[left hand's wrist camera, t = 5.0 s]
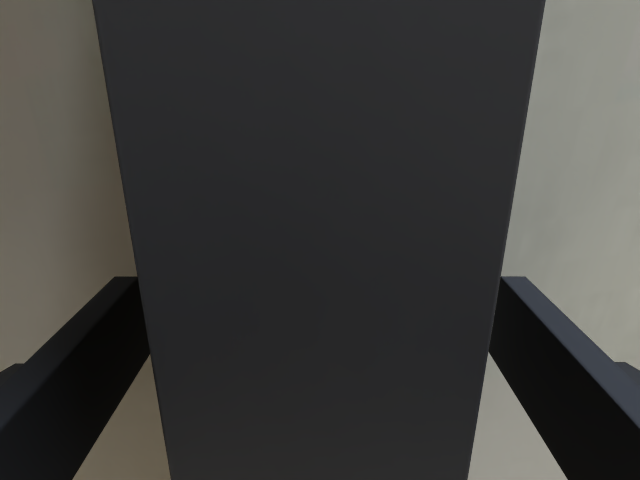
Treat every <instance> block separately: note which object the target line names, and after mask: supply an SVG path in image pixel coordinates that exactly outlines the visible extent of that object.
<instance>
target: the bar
mask: <svg viewBox="0 0 640 480" xmlns="http://www.w3.org/2000/svg"><path fill="white" fill-rule="evenodd" d="M92 3H93V9H94V15H95V21H96V27H97V33H98V39H99V45H100V51H101V57H102V63H103V69H104V75H105V81H106V88H107V94H108V100H109V106H110V112H111V118H112V124H113V130H114V136H115V142H116V148H117V154H118V160H119V166H120V173H121V179H122V185H123V191H124V197H125V203H126V209H127V215H128V221H129V227H130V233H131V239H132V245H133V251H134V258H135V264H136V270H137V276H138V282H139V288H140V294H141V300H142V306H143V312H144V318H145V324H146V330H147V336H148V343H149V349H150V355H151V361H152V367H153V373H154V379H155V385H156V391H157V397H158V403H159V409H160V415H161V421H162V428H163V434H164V440H165V446H166V452H167V458H168V464H169V470H170V476H171V480H467V479H468V473H469V467H470V460H471V454H472V448H473V442H474V436H475V430H476V424H477V417H478V411H479V405H480V399H481V393H482V387H483V381H484V374H485V368H486V362H487V356H488V350H489V344H490V338H491V332H492V325H493V319H494V313H495V307H496V301H497V295H498V289H499V282H500V276H501V270H502V264H503V258H504V252H505V246H506V239H507V233H508V227H509V221H510V215H511V209H512V203H513V197H514V190H515V184H516V178H517V172H518V166H519V160H520V154H521V147H522V141H523V135H524V129H525V123H526V117H527V111H528V104H529V98H530V92H531V86H532V80H533V74H534V68H535V61H536V55H537V49H538V43H539V37H540V31H541V25H542V19H543V12H544V6H545V0H92Z"/></svg>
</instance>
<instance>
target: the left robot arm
mask: <svg viewBox="0 0 640 480" xmlns="http://www.w3.org/2000/svg"><path fill="white" fill-rule="evenodd" d="M489 353H490V355H491V356H492V358H493V360H494V361H495V363H496V364H497V366H498V368H499V369H500V371H501V372H502V374H503V376H504V377H505V379H506V381H507V382H508V384H509V385H510V387H511V389H512V390H513V392H514V393H515V395H516V397H517V398H518V400H519V402H520V403H521V405H522V406H523V408H524V410H525V411H526V413H527V414H528V416H529V418H530V419H531V421H532V423H533V424H534V426H535V427H536V429H537V431H538V432H539V434H540V435H541V437H542V439H543V440H544V442H545V444H546V445H547V447H548V448H549V450H550V452H551V453H552V455H553V456H554V458H555V460H556V461H557V463H558V465H559V466H560V468H561V469H562V471H563V473H564V474H565V476H566V477H567V479H568V480H640V371H639V370H638V369H636V368H634V367H633V366H631V365H629V364H627V363H626V362H614V361H612V360H611V359H610V358H609V357H608V356H607V355H606V354H605V353H604V352H603V351H602V350H601V349H600V348H599V347H598V346H597V345H596V344H595V343H594V342H593V341H592V340H591V339H590V338H589V337H588V336H586V335H585V334H584V333H583V332H582V331H581V330H580V329H579V328H578V327H577V326H576V325H575V324H574V323H573V322H572V321H571V320H570V319H569V318H568V317H567V316H566V315H565V314H564V313H563V312H562V311H560V310H559V309H558V308H557V307H556V306H555V305H554V304H553V303H552V302H551V301H550V300H549V299H548V298H547V297H546V296H545V295H544V294H543V293H542V292H541V291H540V290H539V289H538V288H537V287H536V286H534V285H533V284H532V283H531V282H530V281H529V280H528V279H527V278H526V277H501V278H500V284H499V290H498V296H497V302H496V308H495V314H494V321H493V327H492V333H491V339H490V345H489ZM149 355H150V349H149V343H148V336H147V330H146V324H145V318H144V312H143V306H142V300H141V294H140V288H139V282H138V277H114V278H113V279H112V280H111V281H110V282H109V283H108V284H107V285H106V286H104V287H103V288H102V289H101V290H100V291H99V292H98V293H97V294H96V295H95V296H94V297H93V298H92V299H91V300H90V301H89V302H88V303H87V304H86V305H85V306H84V307H83V308H82V309H81V310H80V311H78V312H77V313H76V314H75V315H74V316H73V317H72V318H71V319H70V320H69V321H68V322H67V323H66V324H65V325H64V326H63V327H62V328H61V329H60V330H59V331H58V332H57V333H56V334H55V335H54V336H52V337H51V338H50V339H49V340H48V341H47V342H46V343H45V344H44V345H43V346H42V347H41V348H40V349H39V350H38V351H37V352H36V353H35V354H34V355H33V356H32V357H31V358H30V359H29V360H28V361H26V362H25V363H24V364H14V365H12V366H10V367H9V368H7V369H5V370H3V371H2V372H0V480H72V479H73V477H74V476H75V474H76V473H77V471H78V469H79V468H80V466H81V464H82V463H83V461H84V460H85V458H86V456H87V455H88V453H89V452H90V450H91V448H92V447H93V445H94V443H95V442H96V440H97V439H98V437H99V435H100V434H101V432H102V431H103V429H104V427H105V426H106V424H107V423H108V421H109V419H110V418H111V416H112V414H113V413H114V411H115V410H116V408H117V406H118V405H119V403H120V402H121V400H122V398H123V397H124V395H125V393H126V392H127V390H128V389H129V387H130V385H131V384H132V382H133V381H134V379H135V377H136V376H137V374H138V372H139V371H140V369H141V368H142V366H143V364H144V363H145V361H146V360H147V358H148V356H149Z"/></svg>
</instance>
